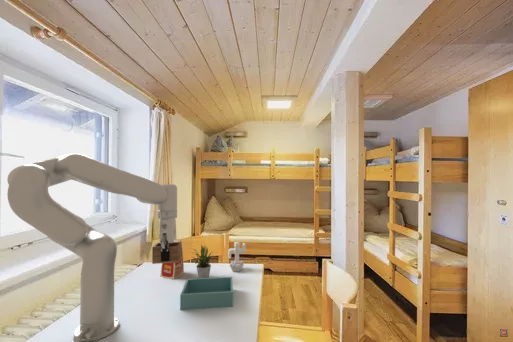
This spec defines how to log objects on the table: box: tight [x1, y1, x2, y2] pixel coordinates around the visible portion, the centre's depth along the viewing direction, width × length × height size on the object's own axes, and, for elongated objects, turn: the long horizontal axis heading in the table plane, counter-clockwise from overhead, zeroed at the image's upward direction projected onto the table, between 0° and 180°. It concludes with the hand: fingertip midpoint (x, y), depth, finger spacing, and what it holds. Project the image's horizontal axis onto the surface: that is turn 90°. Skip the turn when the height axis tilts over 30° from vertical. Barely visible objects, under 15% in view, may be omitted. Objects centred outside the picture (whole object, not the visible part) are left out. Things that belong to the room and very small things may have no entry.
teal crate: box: [179, 276, 234, 311], centre depth 104 cm, size 15×20×6 cm
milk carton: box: [159, 237, 185, 280], centre depth 129 cm, size 9×9×20 cm
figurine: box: [227, 241, 247, 272], centre depth 136 cm, size 7×9×15 cm
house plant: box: [190, 244, 215, 278], centre depth 126 cm, size 14×14×16 cm
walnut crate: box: [151, 241, 182, 265], centre depth 102 cm, size 7×10×6 cm, turn 97°
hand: (167, 257), depth 102 cm, fingers closed on walnut crate, 6 cm apart
